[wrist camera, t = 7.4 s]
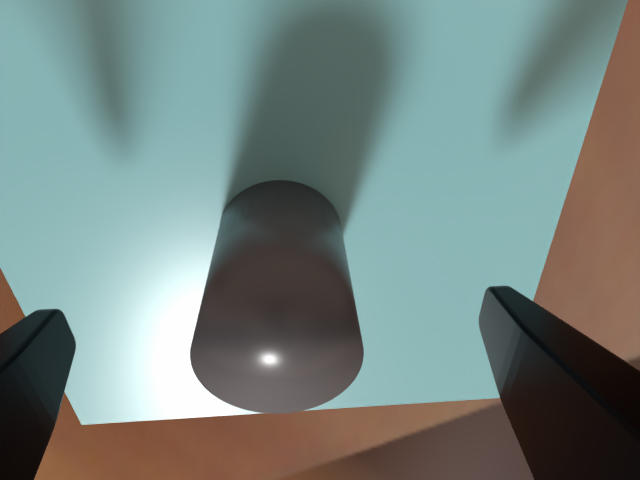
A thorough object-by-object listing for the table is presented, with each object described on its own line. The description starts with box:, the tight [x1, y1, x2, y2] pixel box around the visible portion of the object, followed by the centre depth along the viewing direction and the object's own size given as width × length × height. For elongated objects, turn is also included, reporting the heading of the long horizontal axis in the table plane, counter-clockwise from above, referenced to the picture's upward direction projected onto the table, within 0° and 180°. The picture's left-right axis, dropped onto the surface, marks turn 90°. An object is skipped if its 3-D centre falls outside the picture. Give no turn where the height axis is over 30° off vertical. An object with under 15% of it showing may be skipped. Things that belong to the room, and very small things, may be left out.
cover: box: [0, 0, 628, 425], centre depth 10 cm, size 14×14×5 cm
